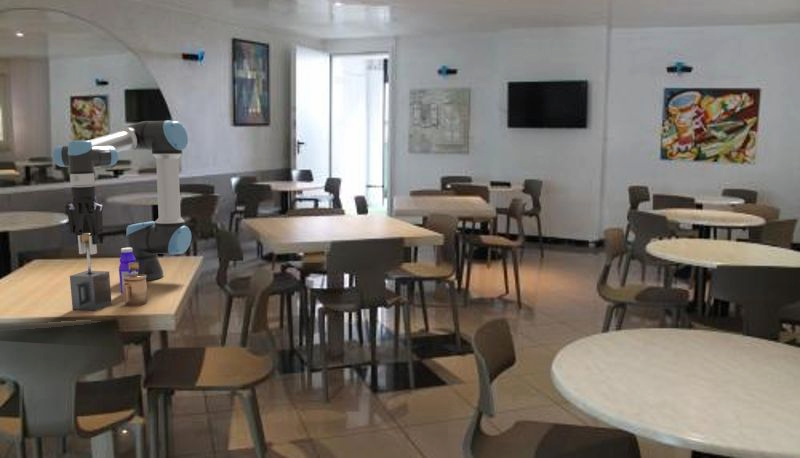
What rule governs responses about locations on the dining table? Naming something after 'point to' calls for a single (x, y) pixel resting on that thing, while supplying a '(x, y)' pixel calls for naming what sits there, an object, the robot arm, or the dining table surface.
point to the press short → (134, 287)
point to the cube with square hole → (90, 290)
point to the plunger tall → (87, 249)
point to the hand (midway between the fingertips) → (88, 253)
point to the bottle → (125, 264)
